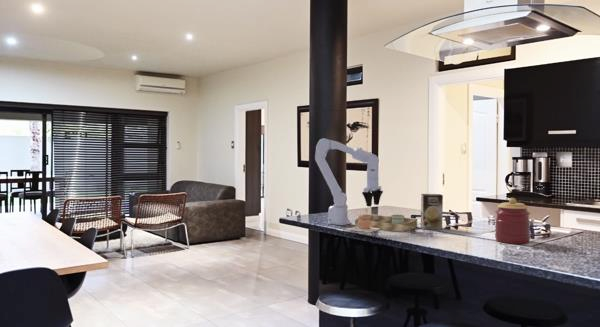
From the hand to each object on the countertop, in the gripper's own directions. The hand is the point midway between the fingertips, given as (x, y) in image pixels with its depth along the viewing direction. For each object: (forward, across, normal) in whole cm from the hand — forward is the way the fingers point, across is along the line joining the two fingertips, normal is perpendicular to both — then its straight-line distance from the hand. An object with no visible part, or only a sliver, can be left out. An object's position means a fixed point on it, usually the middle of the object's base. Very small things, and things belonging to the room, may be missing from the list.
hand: (372, 205), depth 231 cm
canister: (+10, -4, -66) cm, 67 cm away
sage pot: (+10, -3, -15) cm, 18 cm away
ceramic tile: (+9, -16, -4) cm, 19 cm away
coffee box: (+10, +6, -28) cm, 30 cm away
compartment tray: (+9, -2, -8) cm, 13 cm away
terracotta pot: (+9, -15, -4) cm, 18 cm away
